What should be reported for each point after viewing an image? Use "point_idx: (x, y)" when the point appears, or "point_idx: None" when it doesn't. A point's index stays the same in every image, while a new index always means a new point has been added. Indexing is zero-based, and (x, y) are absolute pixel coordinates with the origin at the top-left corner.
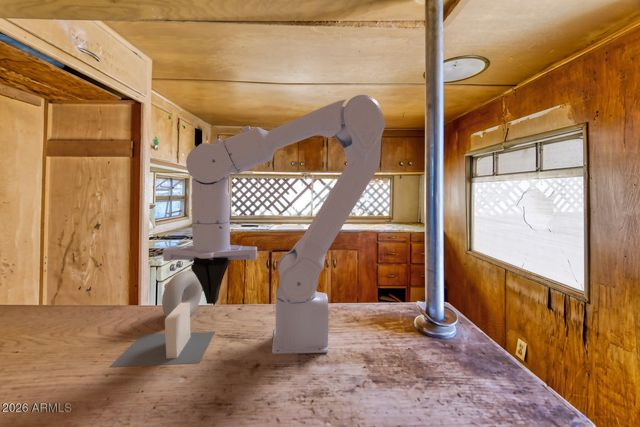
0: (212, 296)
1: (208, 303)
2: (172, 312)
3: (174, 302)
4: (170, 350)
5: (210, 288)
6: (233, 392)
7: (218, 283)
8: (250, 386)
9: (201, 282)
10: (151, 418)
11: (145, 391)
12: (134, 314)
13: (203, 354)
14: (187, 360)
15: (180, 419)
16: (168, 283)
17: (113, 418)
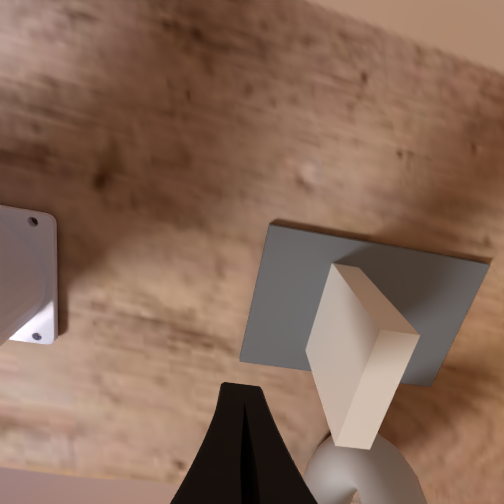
0: (232, 409)
1: (254, 387)
2: (393, 383)
3: (381, 476)
4: (355, 275)
5: (245, 464)
6: (161, 74)
7: (184, 480)
8: (113, 86)
9: (306, 501)
10: (366, 34)
11: (393, 150)
12: (454, 479)
13: (262, 260)
14: (303, 244)
15: (294, 4)
16: None
17: (453, 65)
